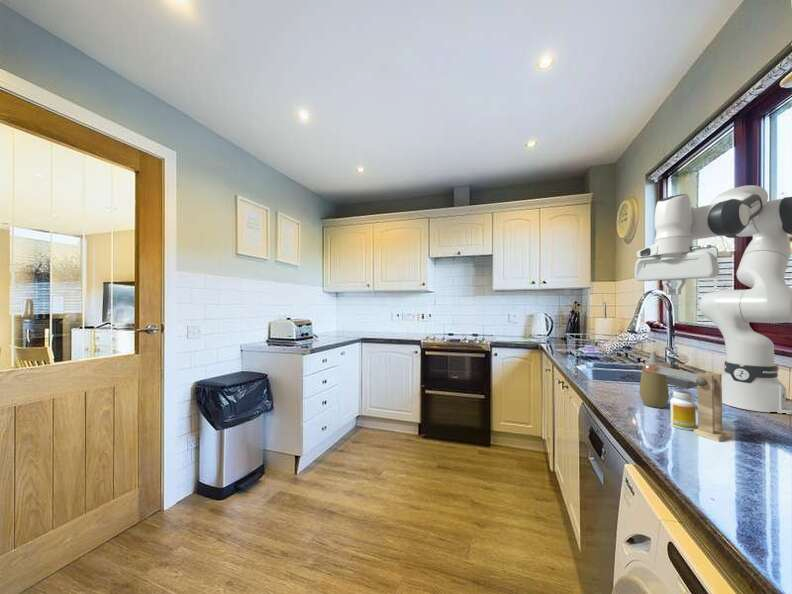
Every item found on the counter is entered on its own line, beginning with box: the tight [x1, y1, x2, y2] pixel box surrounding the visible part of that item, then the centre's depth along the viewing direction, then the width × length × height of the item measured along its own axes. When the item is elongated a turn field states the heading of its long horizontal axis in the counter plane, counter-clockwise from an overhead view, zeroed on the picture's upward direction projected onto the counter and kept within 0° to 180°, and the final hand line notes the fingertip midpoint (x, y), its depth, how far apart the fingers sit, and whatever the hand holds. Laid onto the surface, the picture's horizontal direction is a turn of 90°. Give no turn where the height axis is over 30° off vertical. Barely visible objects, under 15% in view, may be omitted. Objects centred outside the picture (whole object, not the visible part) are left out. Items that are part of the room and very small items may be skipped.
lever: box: [642, 361, 715, 390], centre depth 94 cm, size 10×15×4 cm
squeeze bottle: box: [638, 351, 670, 409], centre depth 112 cm, size 8×8×18 cm
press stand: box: [693, 371, 733, 442], centre depth 87 cm, size 7×5×16 cm
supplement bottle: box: [669, 390, 697, 431], centre depth 93 cm, size 5×5×10 cm
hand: (673, 294), depth 100 cm, fingers closed
